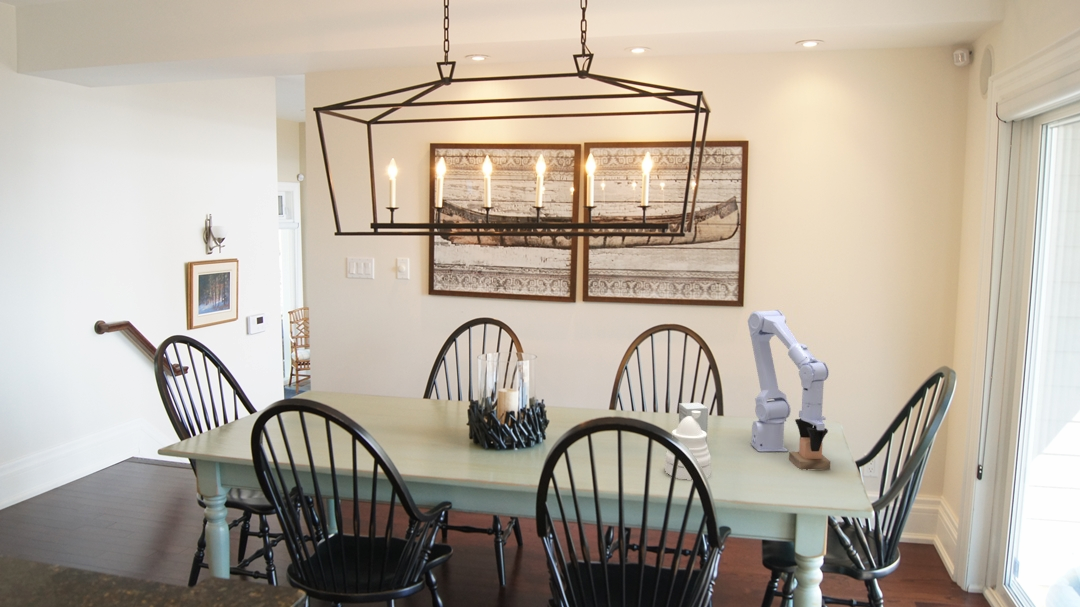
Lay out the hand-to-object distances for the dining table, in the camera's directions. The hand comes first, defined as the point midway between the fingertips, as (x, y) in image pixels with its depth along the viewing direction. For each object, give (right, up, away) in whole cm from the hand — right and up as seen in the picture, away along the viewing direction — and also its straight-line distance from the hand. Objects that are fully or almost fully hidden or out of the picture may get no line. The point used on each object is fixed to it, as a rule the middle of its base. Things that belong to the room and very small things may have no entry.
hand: (810, 447), depth 227 cm
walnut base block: (0, -6, +1) cm, 6 cm away
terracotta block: (0, -3, +1) cm, 3 cm away
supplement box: (-31, -3, +21) cm, 38 cm away
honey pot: (-38, -6, -7) cm, 39 cm away
